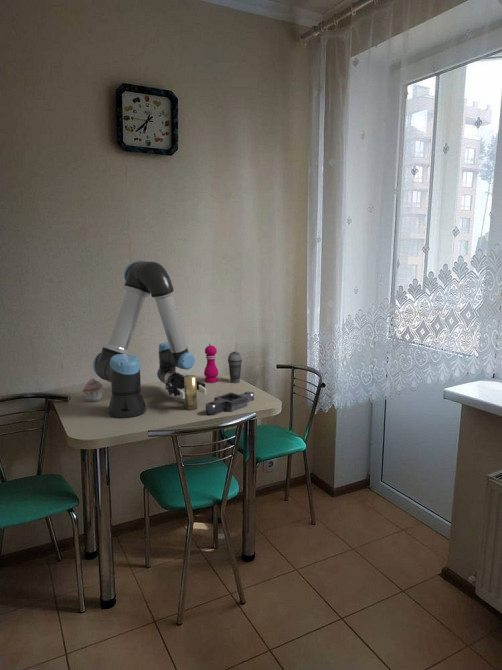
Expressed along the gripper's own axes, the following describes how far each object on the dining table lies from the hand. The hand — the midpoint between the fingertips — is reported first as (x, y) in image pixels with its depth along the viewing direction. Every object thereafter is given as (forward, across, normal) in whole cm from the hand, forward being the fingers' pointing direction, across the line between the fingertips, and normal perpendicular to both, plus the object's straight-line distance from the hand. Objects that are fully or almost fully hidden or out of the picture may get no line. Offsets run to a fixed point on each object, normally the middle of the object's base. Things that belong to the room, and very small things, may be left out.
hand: (194, 393), depth 201 cm
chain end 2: (0, -20, -8) cm, 22 cm away
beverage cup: (-31, -35, -8) cm, 48 cm away
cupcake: (-37, +33, -8) cm, 50 cm away
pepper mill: (-38, -25, -8) cm, 46 cm away
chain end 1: (+3, -12, -8) cm, 14 cm away
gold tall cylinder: (-5, 0, -8) cm, 9 cm away
